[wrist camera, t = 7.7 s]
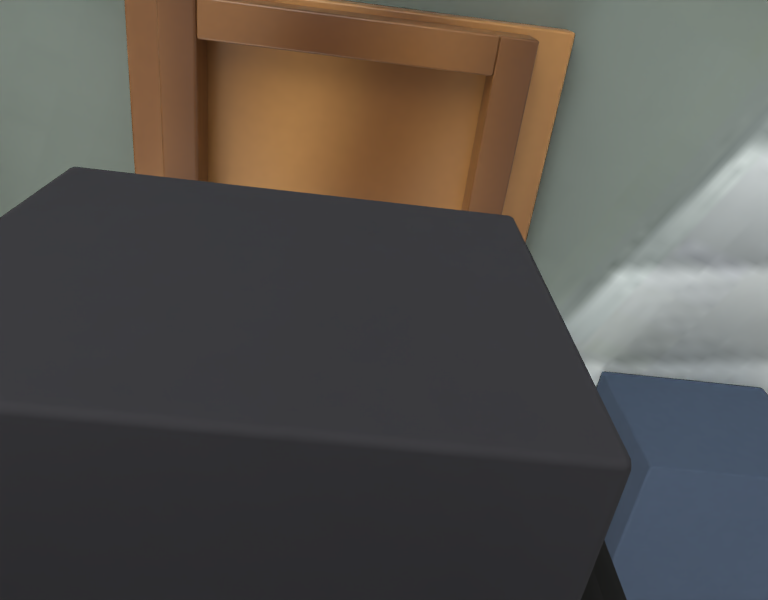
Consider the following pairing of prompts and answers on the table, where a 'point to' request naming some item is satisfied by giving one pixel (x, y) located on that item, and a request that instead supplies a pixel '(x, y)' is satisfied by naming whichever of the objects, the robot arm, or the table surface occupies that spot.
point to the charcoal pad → (288, 401)
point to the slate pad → (690, 488)
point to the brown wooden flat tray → (346, 100)
